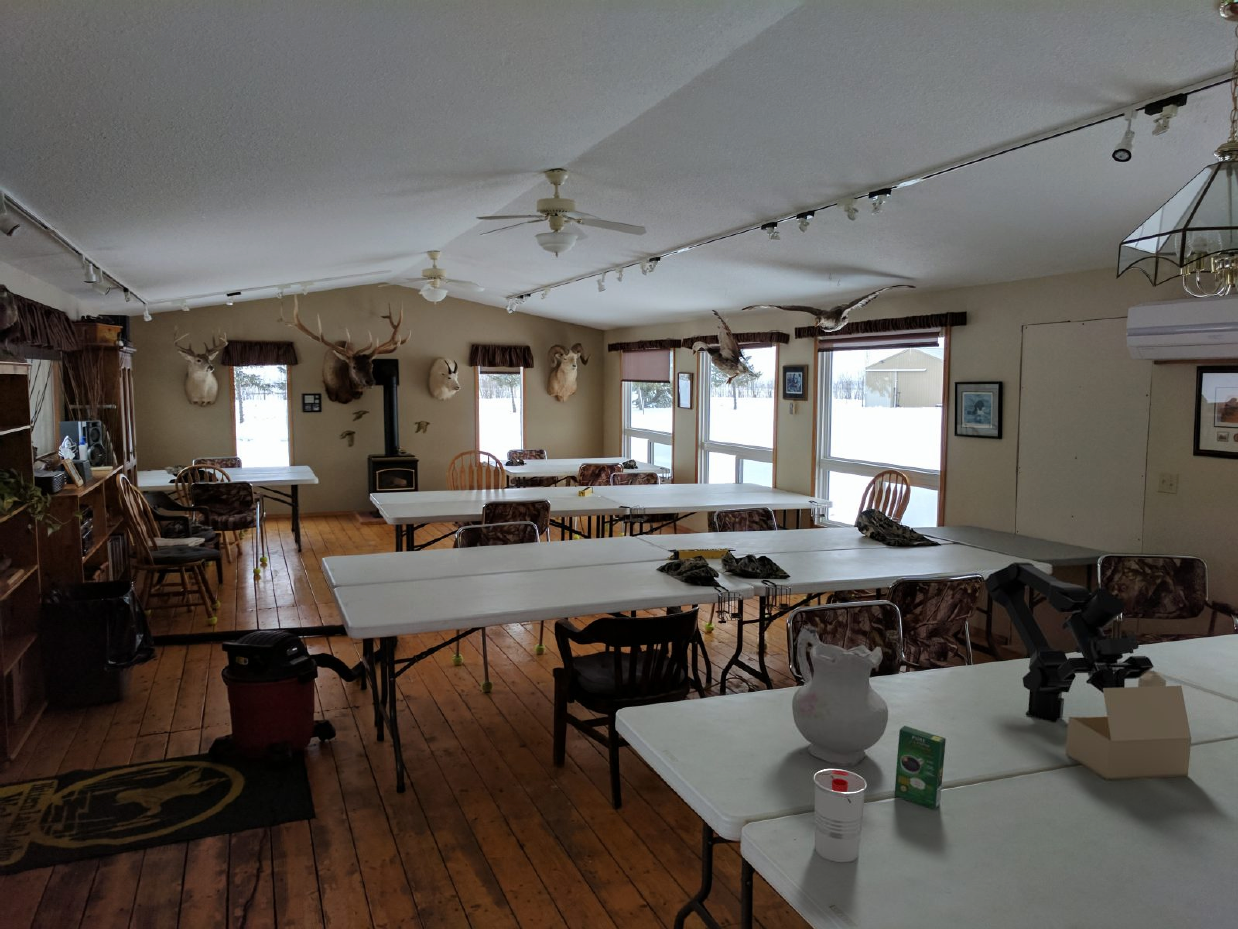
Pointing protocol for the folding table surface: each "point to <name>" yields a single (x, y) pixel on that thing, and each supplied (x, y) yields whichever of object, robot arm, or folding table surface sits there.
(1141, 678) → the candle
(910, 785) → the coffee box
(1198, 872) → the folding table surface
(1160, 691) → the carton flap
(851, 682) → the ceramic pitcher
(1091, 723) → the carton
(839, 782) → the striped cup with float
